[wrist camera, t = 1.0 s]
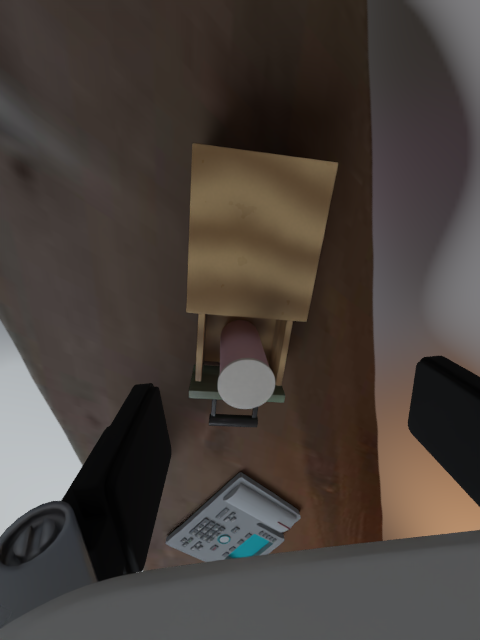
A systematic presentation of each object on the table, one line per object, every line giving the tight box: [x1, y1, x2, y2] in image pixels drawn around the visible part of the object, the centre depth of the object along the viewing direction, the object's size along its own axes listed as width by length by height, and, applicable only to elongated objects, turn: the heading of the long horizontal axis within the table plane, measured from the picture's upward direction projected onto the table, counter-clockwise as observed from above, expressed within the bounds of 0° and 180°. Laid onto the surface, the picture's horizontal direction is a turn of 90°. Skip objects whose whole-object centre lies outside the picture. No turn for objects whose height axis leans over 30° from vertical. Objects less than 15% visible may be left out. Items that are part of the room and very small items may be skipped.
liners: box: [218, 320, 275, 409], centre depth 33 cm, size 6×6×12 cm
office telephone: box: [166, 472, 300, 562], centre depth 54 cm, size 23×3×20 cm
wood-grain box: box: [186, 143, 338, 322], centre depth 32 cm, size 17×14×9 cm
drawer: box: [189, 313, 293, 427], centre depth 37 cm, size 21×13×7 cm, turn 174°
